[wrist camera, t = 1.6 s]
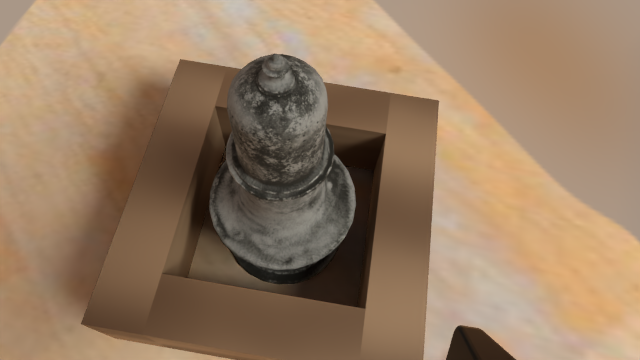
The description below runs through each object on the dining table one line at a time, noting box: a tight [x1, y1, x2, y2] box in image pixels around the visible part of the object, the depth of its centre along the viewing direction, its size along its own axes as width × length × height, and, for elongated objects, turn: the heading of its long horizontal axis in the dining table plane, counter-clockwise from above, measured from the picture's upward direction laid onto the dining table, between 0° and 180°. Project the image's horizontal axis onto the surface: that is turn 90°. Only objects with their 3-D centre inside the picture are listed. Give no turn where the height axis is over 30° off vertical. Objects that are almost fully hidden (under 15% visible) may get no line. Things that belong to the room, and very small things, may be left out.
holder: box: [81, 59, 439, 360], centre depth 21 cm, size 12×12×4 cm
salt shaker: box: [209, 54, 356, 284], centre depth 17 cm, size 6×6×12 cm
